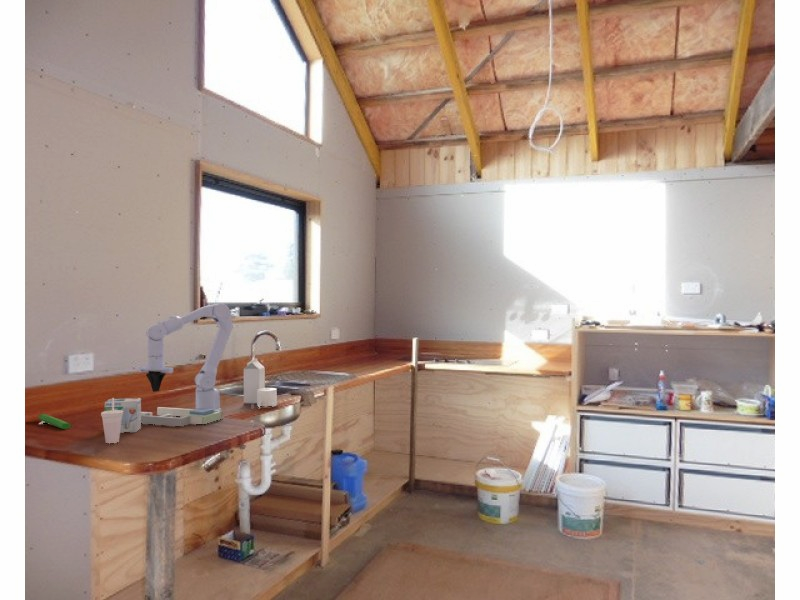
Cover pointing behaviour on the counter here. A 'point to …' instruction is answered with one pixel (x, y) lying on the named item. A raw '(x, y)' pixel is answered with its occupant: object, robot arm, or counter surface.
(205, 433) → the counter surface
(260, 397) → the toilet paper
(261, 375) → the milk carton
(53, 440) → the counter surface
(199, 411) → the block
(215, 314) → the robot arm
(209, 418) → the trap box
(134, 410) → the light bulb box
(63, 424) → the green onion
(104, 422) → the smoothie
